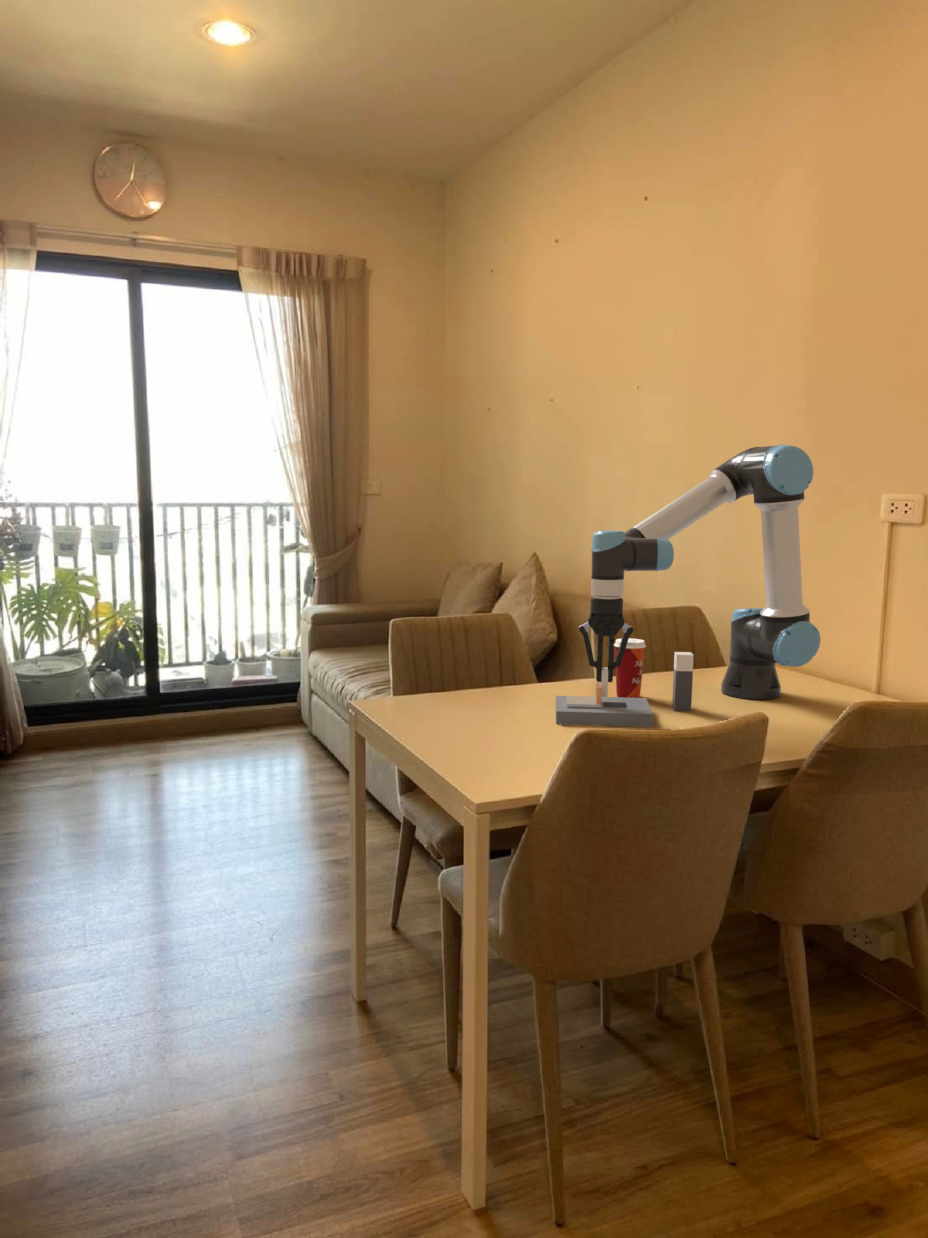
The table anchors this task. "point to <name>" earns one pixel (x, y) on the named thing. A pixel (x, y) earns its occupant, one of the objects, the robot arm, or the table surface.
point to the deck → (607, 712)
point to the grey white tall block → (682, 681)
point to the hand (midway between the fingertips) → (603, 695)
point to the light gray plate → (586, 699)
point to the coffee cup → (630, 668)
